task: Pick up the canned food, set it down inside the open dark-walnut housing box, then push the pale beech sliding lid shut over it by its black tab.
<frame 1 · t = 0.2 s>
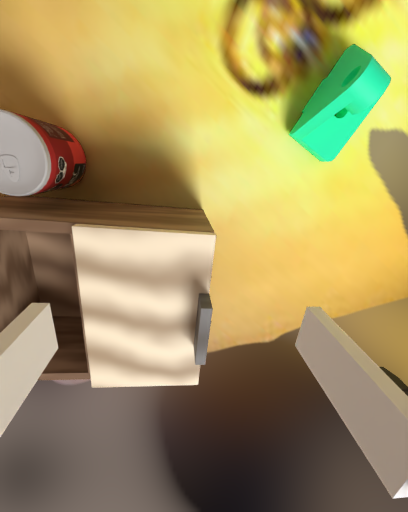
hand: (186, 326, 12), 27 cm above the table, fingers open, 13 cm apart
lid: (145, 325, 26), point 15 cm above the table, slide at 14.0 cm
camera mount: (328, 113, 34), on the table
housing: (73, 265, 38), on the table
canned food: (60, 157, 32), on the table
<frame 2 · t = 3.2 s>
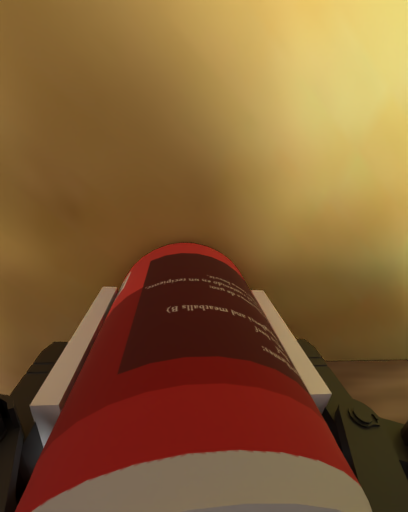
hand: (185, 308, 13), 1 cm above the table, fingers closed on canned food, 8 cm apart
housing: (174, 454, 21), on the table
canned food: (184, 295, 15), on the table, touching gripper
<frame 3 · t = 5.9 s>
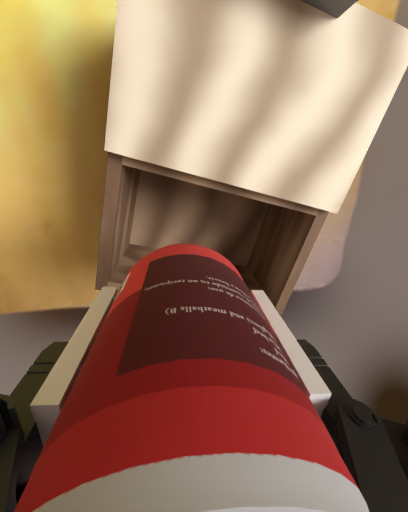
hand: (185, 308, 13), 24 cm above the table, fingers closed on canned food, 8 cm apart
lid: (265, 90, 17), point 15 cm above the table, slide at 14.0 cm
housing: (199, 219, 36), on the table
canned food: (184, 296, 15), point 23 cm above the table, touching gripper
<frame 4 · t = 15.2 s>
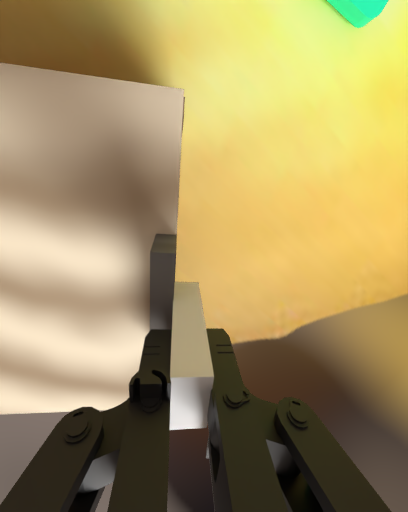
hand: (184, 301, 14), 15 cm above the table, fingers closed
lid: (47, 298, 13), point 15 cm above the table, slide at 13.9 cm, touching gripper
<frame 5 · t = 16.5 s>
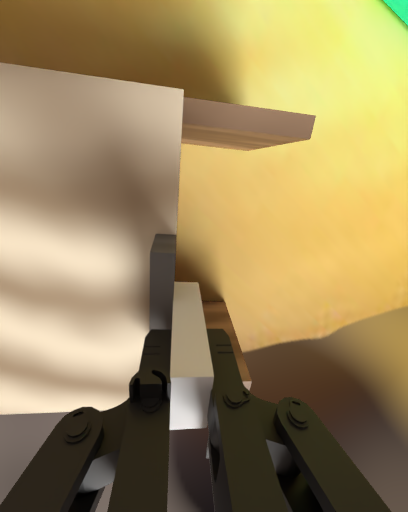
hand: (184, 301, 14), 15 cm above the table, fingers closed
lid: (46, 298, 13), point 15 cm above the table, slide at 6.4 cm, touching gripper
housing: (58, 224, 26), on the table
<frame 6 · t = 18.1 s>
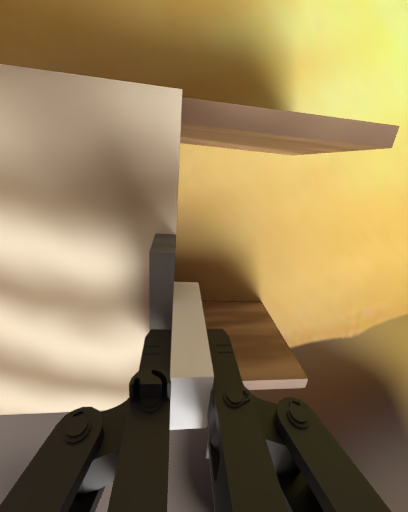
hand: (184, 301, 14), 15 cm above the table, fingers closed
lid: (47, 299, 13), point 15 cm above the table, slide at 0.9 cm, touching gripper
housing: (107, 228, 27), on the table
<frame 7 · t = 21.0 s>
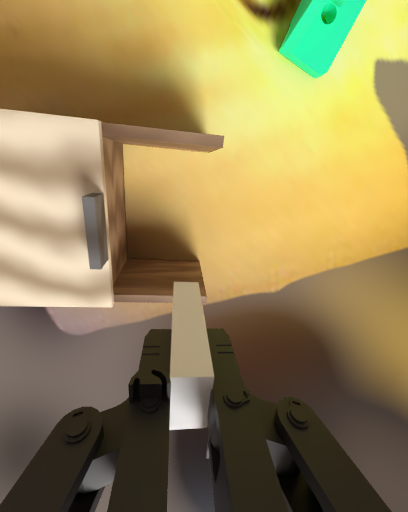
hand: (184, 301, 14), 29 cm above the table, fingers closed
lid: (35, 226, 25), point 15 cm above the table, slide at 0.8 cm
camera mount: (317, 25, 33), on the table
housing: (82, 203, 39), on the table
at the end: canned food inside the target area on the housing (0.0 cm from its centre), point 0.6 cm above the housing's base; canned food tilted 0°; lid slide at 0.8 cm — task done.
